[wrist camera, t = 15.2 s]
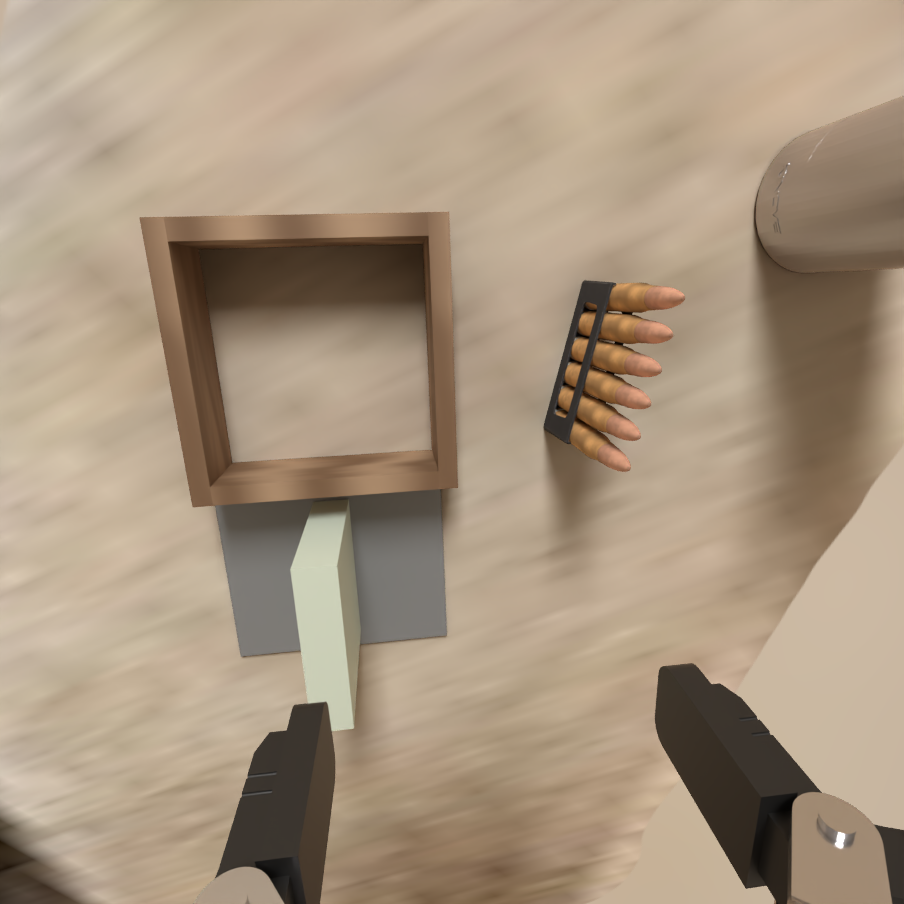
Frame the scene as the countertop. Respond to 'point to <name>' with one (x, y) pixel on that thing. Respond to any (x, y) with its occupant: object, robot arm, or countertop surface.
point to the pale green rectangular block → (328, 610)
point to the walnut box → (197, 374)
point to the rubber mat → (376, 566)
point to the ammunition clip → (606, 366)
